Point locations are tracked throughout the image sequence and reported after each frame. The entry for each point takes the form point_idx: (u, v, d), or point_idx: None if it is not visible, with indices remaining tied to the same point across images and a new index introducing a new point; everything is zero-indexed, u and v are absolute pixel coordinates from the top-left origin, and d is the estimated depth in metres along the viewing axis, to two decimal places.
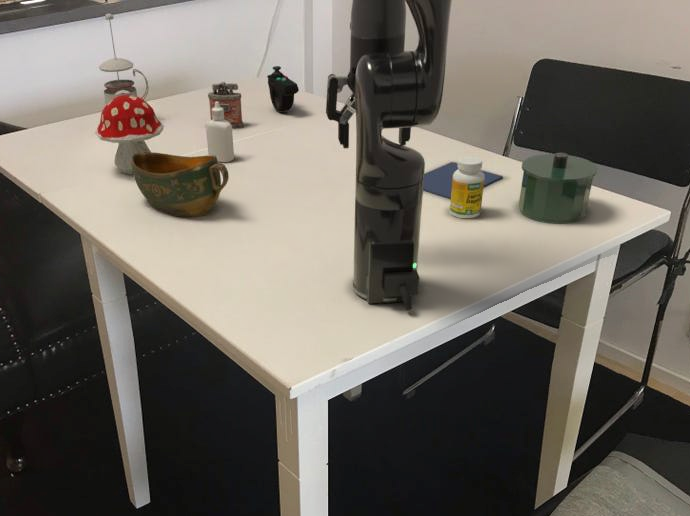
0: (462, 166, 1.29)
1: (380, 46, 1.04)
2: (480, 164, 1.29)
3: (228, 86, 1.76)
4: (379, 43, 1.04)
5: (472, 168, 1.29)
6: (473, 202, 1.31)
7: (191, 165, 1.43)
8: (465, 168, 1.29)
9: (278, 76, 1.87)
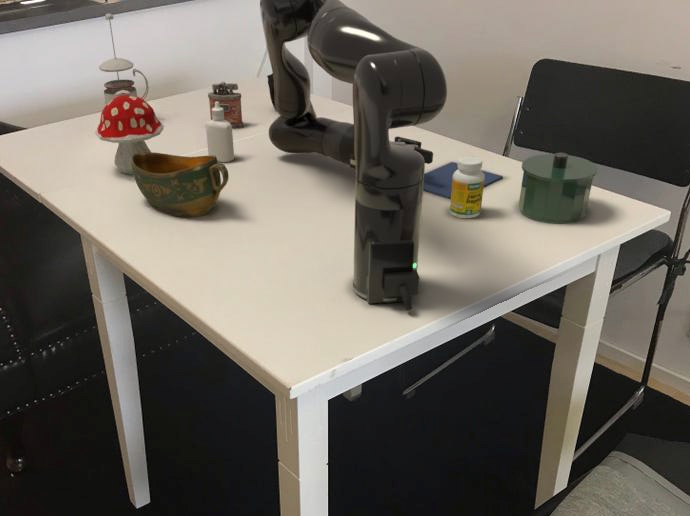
0: (462, 166, 1.29)
1: None
2: (480, 164, 1.29)
3: (228, 86, 1.76)
4: (353, 126, 1.46)
5: (472, 168, 1.29)
6: (473, 202, 1.31)
7: (191, 165, 1.43)
8: (465, 168, 1.29)
9: None
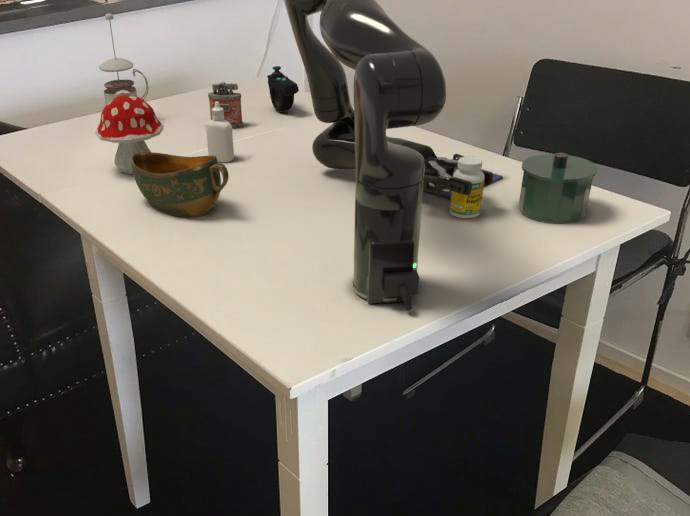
0: (461, 166, 1.29)
1: (409, 143, 1.38)
2: (480, 164, 1.29)
3: (228, 86, 1.76)
4: (407, 142, 1.38)
5: (472, 168, 1.29)
6: (473, 202, 1.31)
7: (191, 165, 1.43)
8: (465, 169, 1.29)
9: (278, 76, 1.87)
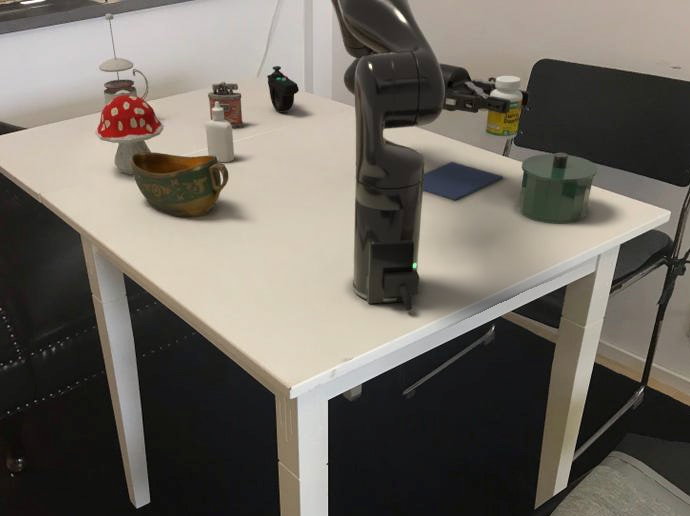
0: (500, 84, 1.28)
1: (444, 66, 1.36)
2: (519, 82, 1.27)
3: (228, 86, 1.76)
4: (442, 65, 1.36)
5: (511, 85, 1.27)
6: (510, 122, 1.30)
7: (191, 165, 1.43)
8: (503, 87, 1.27)
9: (278, 76, 1.87)
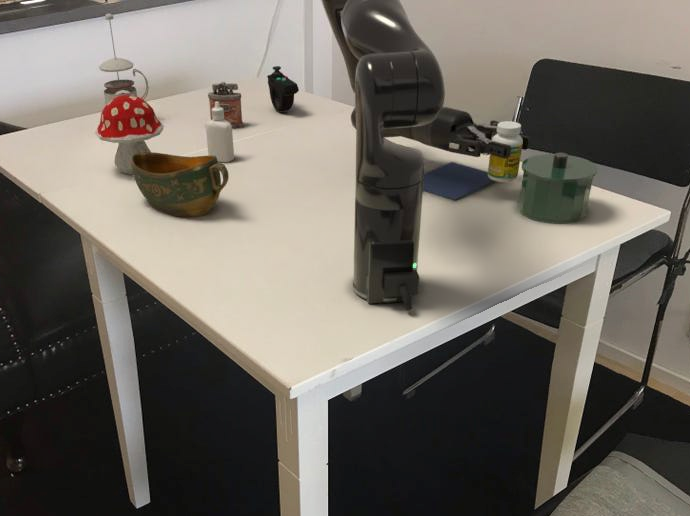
0: (501, 130, 1.33)
1: (448, 110, 1.42)
2: (519, 128, 1.33)
3: (228, 86, 1.76)
4: (445, 109, 1.42)
5: (512, 132, 1.33)
6: (511, 166, 1.36)
7: (191, 165, 1.43)
8: (505, 133, 1.33)
9: (278, 76, 1.87)
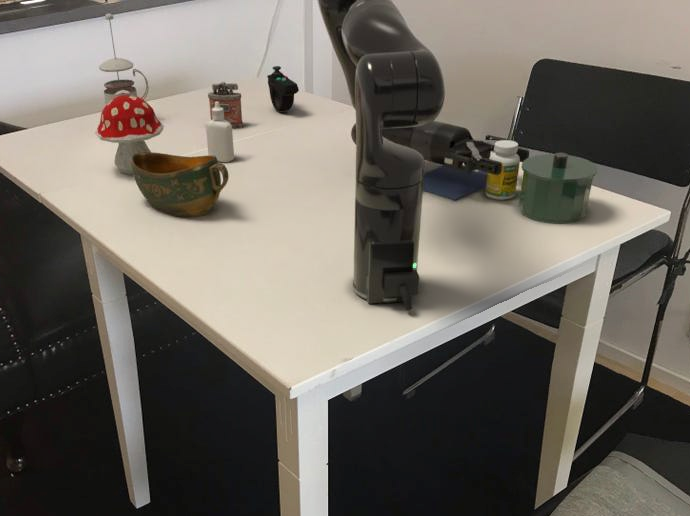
0: (498, 149, 1.35)
1: (447, 126, 1.44)
2: (516, 147, 1.35)
3: (228, 86, 1.76)
4: (444, 125, 1.44)
5: (509, 150, 1.35)
6: (509, 184, 1.38)
7: (191, 165, 1.43)
8: (502, 151, 1.35)
9: (278, 76, 1.87)
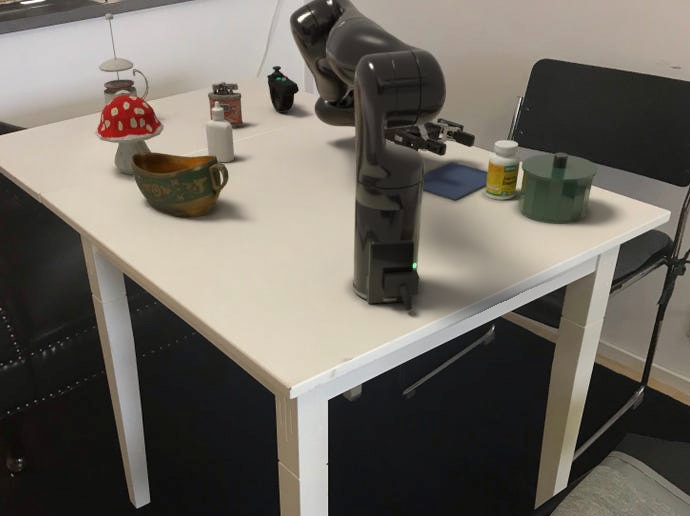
0: (498, 149, 1.35)
1: None
2: (516, 147, 1.35)
3: (228, 86, 1.76)
4: None
5: (509, 151, 1.35)
6: (509, 184, 1.38)
7: (191, 165, 1.43)
8: (502, 151, 1.35)
9: (278, 76, 1.87)
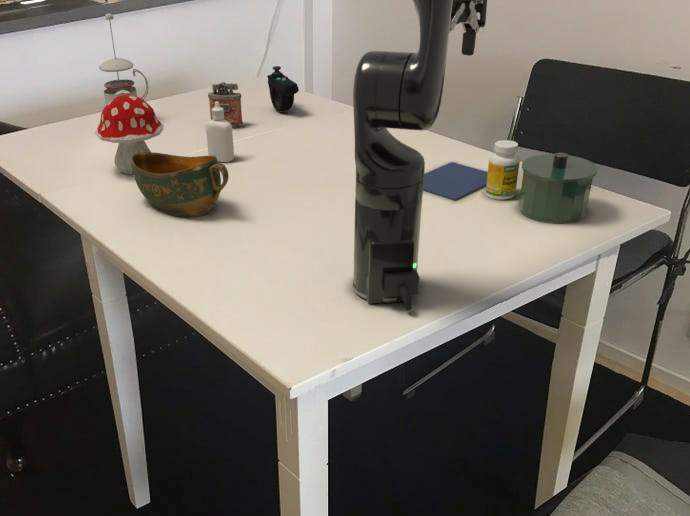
0: (498, 149, 1.35)
1: None
2: (516, 147, 1.35)
3: (228, 86, 1.76)
4: None
5: (509, 151, 1.35)
6: (509, 184, 1.38)
7: (191, 165, 1.43)
8: (502, 151, 1.35)
9: (278, 76, 1.87)
